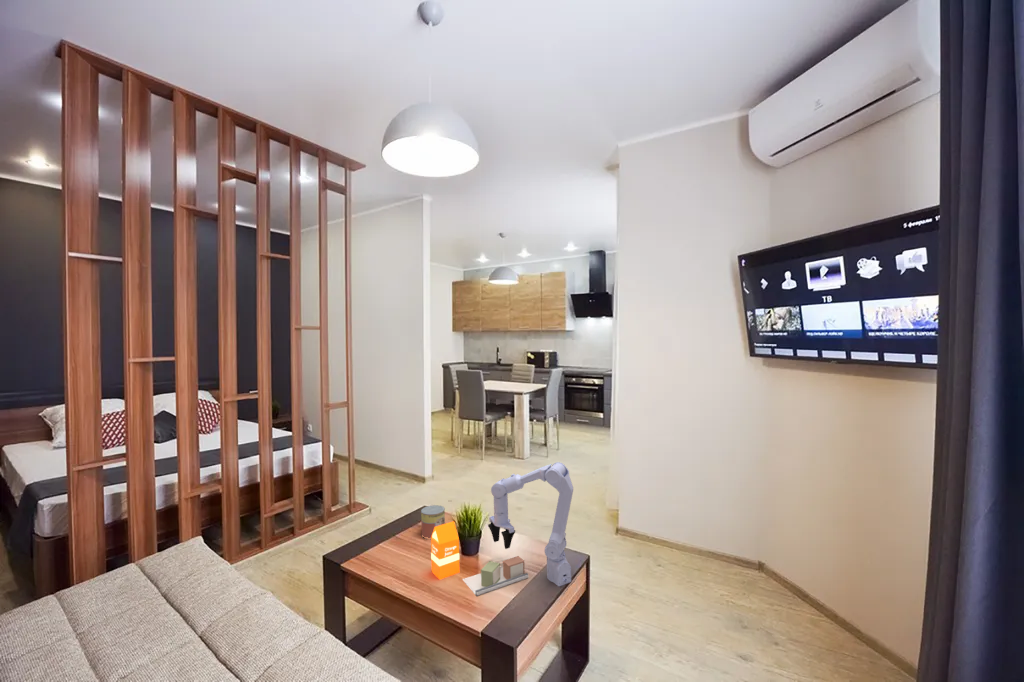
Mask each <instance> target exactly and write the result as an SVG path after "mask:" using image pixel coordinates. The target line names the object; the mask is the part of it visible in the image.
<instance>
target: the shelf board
mask: <svg viewBox="0 0 1024 682" xmlns="http://www.w3.org/2000/svg"><path fill="white" fill-rule="evenodd" d="M527 579H529V573H528V572H525V574H522V575H519V576H516V577H513V578H511V579H508V580H507V579H506V578H505V577H504V576H503V565H502V566H500V580H499V581H498V582H497V583H496V584H493V585H490V586H487V587H484V586H481V573H477V574H475V575H471V576H468V577H465V578H462V581H463V582H464V584H465V585H466V586H467V587H468V588H469V589H470V591H472V593H473V594H474V595H475V596H476V597H479V596H481V595H484V594H487V593H490V592H493V591H495V590H498V589H501V588H504V587H507V586H509V585H512V584H515V583H518V582H521V581H524V580H527Z"/></svg>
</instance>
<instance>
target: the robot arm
mask: <svg viewBox="0 0 1024 682" xmlns="http://www.w3.org/2000/svg"><path fill="white" fill-rule="evenodd" d="M536 480H537V481H538V480H541V481H543V482H546V483H548V484H549V485H550V486H551V487H553V488H554V489H555V490H556V491H557V492H558V494H559V495H558V500H557V504H556V508H555V509H556V510H555V514H554V519H553V525H552V530H551V533H550V536H549V539H548V543H547V544H546V545H545V547H544V554H545V556H546V575H547V576H546V577H547V580H548V581H549V582H551V583H554V584H555V585H556V586H557V587H561V586H564V585H566V584H569V583H571V582H572V566H571V564H570V563H569V562H568V560H567V558H566V552H565V548H566V547H567V540H566V536H567V533H566V530H567V524H568V519H569V514H570V509H571V504H572V499H573V493H574V486H573V483H572V480H571V476H570V470H569V469H568V468H567V466H566V465H565V464H564V463H563V462H560V461H556V462H554V463H553V464H552V463H550V464H547V465H544V466H541V467H539V468H537V469H534V470H532V471H530V472H528V473H524V474H523V475H521V474H519V473H517V474H515V473H511V475H510V476H509V477H506V478H501V479H500V480H498V481H496V482H495V483H493V485H492V486H491V489H490V492H491V494H492V496H493V515H491V516H489V519H488V521H489V522H490V523H489V524H488V529H489V531H490V533H491V536H492V539H493V542H494V543H496V542H500V533H501V535H502V539H503V545H504V549H505V550H507V549H510V548H511V545H512V542H513V541H512V539H513V537H514V535H515V534H516V530H515V526H513V525H512V523H511V519H509V502H508V498H509V497H508V494H511V493H513V492H516V491H518V490H521V489H523V488H524V486H525V484H528V483H531V482H534V481H536ZM501 528H502V529H504V530H503V531H501V532H500V530H501Z"/></svg>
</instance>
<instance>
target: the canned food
mask: <svg viewBox="0 0 1024 682" xmlns="http://www.w3.org/2000/svg"><path fill="white" fill-rule="evenodd" d="M445 509H446V508H445V507H444V506H442V505H435V504H434V505H428V506H425V507H423V508H422V509H421V510H420V514H421V515H420V516H421V536H422V535H423V536H424V537H428V538H431V536H432V533H433V531H434V528H435V527H436V526H439V525H443V524H446V523H445V522H446V521H445V520H446V519H445V518H446V517H445V515H446V514H445Z"/></svg>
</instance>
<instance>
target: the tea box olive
mask: <svg viewBox="0 0 1024 682" xmlns="http://www.w3.org/2000/svg"><path fill="white" fill-rule="evenodd" d="M500 567H501V563H500V562H496V561H491V560H489V561H488V562H487V563H486V564H485V565H484V566H483V567H482V568H481V569H480V572H481V586H484V587H487V586H490V585H493V584H496V583H497V582H498V581H499V580H500Z"/></svg>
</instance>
